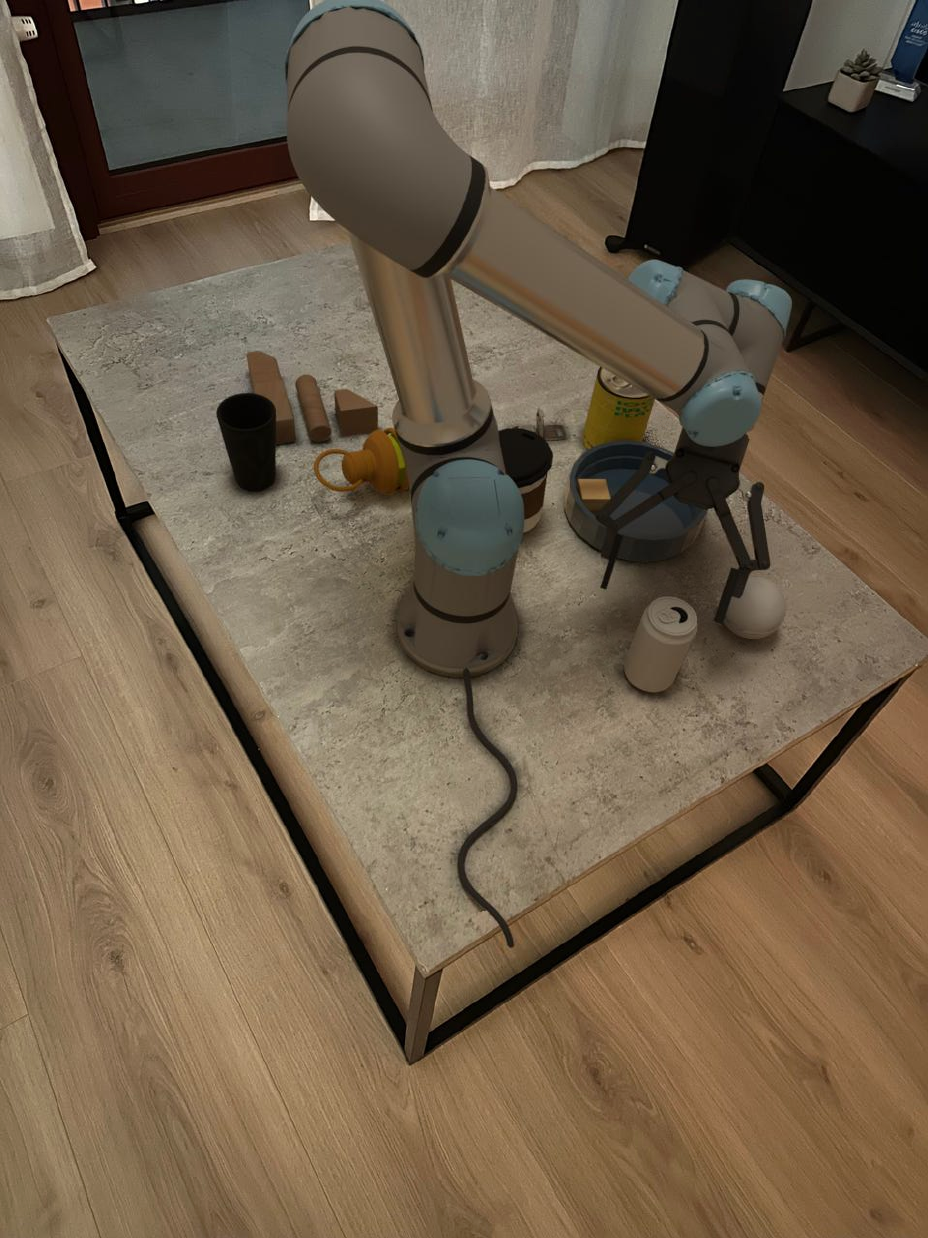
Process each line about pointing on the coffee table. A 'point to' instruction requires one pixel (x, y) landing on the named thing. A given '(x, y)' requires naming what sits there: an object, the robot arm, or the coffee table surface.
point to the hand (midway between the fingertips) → (659, 605)
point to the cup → (249, 439)
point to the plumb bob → (372, 464)
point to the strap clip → (543, 428)
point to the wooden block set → (309, 403)
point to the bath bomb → (756, 609)
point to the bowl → (632, 503)
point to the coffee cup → (527, 468)
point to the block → (593, 493)
